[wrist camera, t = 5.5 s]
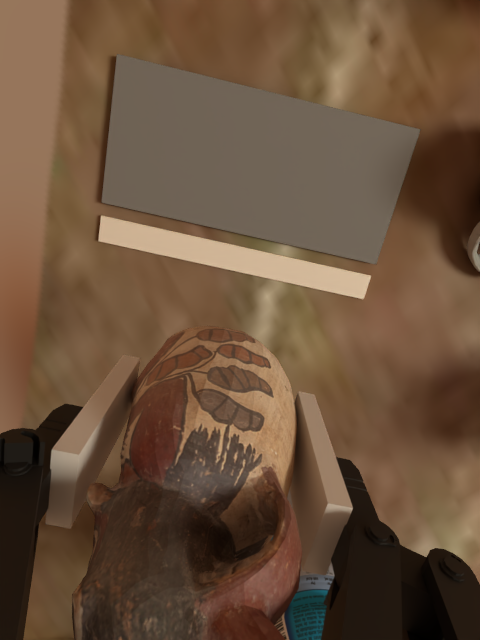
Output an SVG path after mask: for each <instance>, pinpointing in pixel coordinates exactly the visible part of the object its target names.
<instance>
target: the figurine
mask: <svg viewBox="0 0 480 640" xmlns="http://www.w3.org/2000/svg"><path fill="white" fill-rule="evenodd" d="M296 432H297V418H296V409H295V404H294V399H293V395H292V390H291V385H290V382H289V380H288V378H287V376H286V374H285V372H284V370H283V369H282V367H281V365H280V363H279V361H278V359H277V358H276V357H275V356H274V355H273V354H272V353H271V352H270V351H269V350H268V349H267V348H266V347H265V346H264V345H263V344H262V343H260V342H259V341H257V340H256V339H254V338H252V337H251V336H249V335H248V334H246V333H245V332H242V331H237V330H232V329H227V328H220V327H213V326H198V327H193V328H188V329H185V330H182V331H180V332H178V333H176V334H174V335H173V336H171V337H170V338H168V339H167V341H166V342H165V344H164V345H163V346H162V348H161V349H160V350H159V351H158V352H157V354H156V355H155V356H154V358H153V359H152V360H151V361H150V362H149V363H148V364H147V366H146V367H145V369H144V370H143V372H142V373H141V374H140V376H139V378H138V379H137V381H136V383H135V385H134V388H133V390H132V392H131V412H130V416H129V420H128V425H127V430H126V433H125V437H124V441H123V446H122V451H121V474H120V478H119V484H117V485H116V486H114V487H113V488H111V489H110V488H108V487H106V486H105V485H103V484H100V483H91V485H90V486H89V487H88V490H87V493H86V499H87V503H88V505H89V506H90V508H91V510H92V511H93V513H94V515H95V527H94V541H93V552H92V555H91V558H90V561H89V565H88V571H87V574H86V576H85V577H84V578H83V580H82V582H81V583H80V584H79V586H78V587H77V588H76V590H75V591H74V593H73V594H72V619H73V631H74V639H75V640H285V638H284V637H283V636H282V634H281V633H280V632H279V630H278V629H277V628H276V627H275V626H274V624H275V623H276V622H277V621H278V619H279V618H280V617H281V616H282V615H283V614H284V612H285V611H286V610H287V608H288V607H289V605H290V603H291V601H292V599H293V598H294V596H295V594H296V592H297V590H298V589H299V580H300V571H301V561H302V546H301V541H300V536H299V531H298V526H297V521H296V517H295V513H294V511H293V509H292V507H291V505H290V503H289V501H288V499H287V496H288V493H289V489H290V486H291V482H292V477H293V472H294V462H295V447H296ZM273 535H274V536H273ZM272 537H273V539H272ZM271 539H272V540H271Z"/></svg>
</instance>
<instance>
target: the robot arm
mask: <svg viewBox="0 0 480 640" xmlns="http://www.w3.org/2000/svg"><path fill="white" fill-rule="evenodd" d="M139 364H140V358H138V357H133V356H129V355H124V354H123V356H122V357H121V358H120V360H119V361H118V362H117V364H116V365H115V366H114V368H113V369H112V370H111V372H110V373H109V374H108V376H107V377H106V378H105V380H104V381H103V382H102V383H101V385H100V386H99V387H98V389H97V390H96V391H95V393H94V394H93V395H92V397H91V398H90V399H89V401H88V402H87V403H86V405H85V406H84V407H80V406H75V405H70V404H64V405H62V406H60V407H58V408H56V409H55V410H53V411H52V412H51V413H50V414H49V416H48V417H47V418H46V419H45V421H43V422H42V424H41V425H40V426H39V428H37V429H36V430H33V429H25V428H20V429H12V430H9V431H6V432H3V433H1V434H0V640H23V637H24V630H25V623H26V616H27V609H28V601H29V594H30V587H31V580H32V573H33V566H34V559H35V552H36V545H37V537H38V528H39V522H40V520H41V519H42V517H43V516H44V514H45V512H46V523H45V524H47V525H53V526H58V527H64V528H69V529H71V527H72V525H73V523H74V522H75V520H76V518H77V516H78V514H79V512H80V510H81V508H82V506H83V504H84V502H85V500H86V493H87V490H88V487H89V486H90V485H91V483H95V481H96V479H97V477H98V475H99V473H100V472H101V470H102V468H103V466H104V464H105V462H106V460H107V458H108V456H109V454H110V452H111V450H112V448H113V447H114V445H115V443H116V441H117V439H118V437H119V435H120V433H121V431H122V429H123V427H124V425H125V423H126V422H127V420H128V418H129V416H130V412H131V392H132V390H133V388H134V385H135V383H136V381H137V377H138V371H139ZM294 404H295V409H296V418H297V432H296V447H295V462H294V472H293V477H292V482H291V486H290V492H291V499H292V506H293V511H294V513H295V517H296V521H297V526H298V531H299V536H300V541H301V546H302V561H301V566H302V571H304V572H310V573H315V574H320V575H326V574H327V571H328V569H329V566H330V564H331V562H332V567H333V571H334V575H335V576H334V579H333V581H332V583H331V586H330V588H329V591H328V593H327V595H326V598H325V600H324V603H323V604H324V605H326V606H327V608H326V613H325V619H324V625H323V630H322V636H321V640H480V584H479V582H478V580H477V578H476V576H475V574H474V573H473V571H472V570H471V568H470V567H469V566H468V565H467V564H466V563H465V562H464V561H463V560H462V559H460V558H459V557H458V556H456V555H455V554H453V553H451V552H449V551H447V550H444V549H438V548H435V549H432V550H430V552H429V554H428V556H427V557H424V556H422V555H420V554H418V553H416V552H413V551H411V550H409V549H407V548H405V547H403V546H401V545H400V543H399V539H398V538H397V536H396V535H395V533H394V532H393V531H392V530H391V529H390V528H389V527H388V526H387V525H386V524H384V523H382V522H381V521H379V518H378V516H377V513H376V511H375V509H374V506H373V504H372V501H371V499H370V496H369V494H368V492H367V489H366V487H365V484H364V483H363V479H362V477H361V474H360V472H359V470H358V469H357V468H356V466H355V465H354V464H353V463H352V462H351V461H350V460H347V459H342V458H337V457H335V454H334V451H333V448H332V445H331V442H330V439H329V436H328V433H327V430H326V427H325V424H324V421H323V418H322V416H321V413H320V410H319V407H318V404H317V401H316V398H315V395H313V394H309V393H304V392H299V391H298V394H297V397H296V400H295V403H294Z"/></svg>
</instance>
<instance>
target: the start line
mask: <svg viewBox="0 0 480 640" xmlns="http://www.w3.org/2000/svg"><path fill="white" fill-rule="evenodd" d="M98 241H100V242H105V243H109V244H114V245H118V246H123V247H128V248H132V249H137V250H141V251H146V252H150V253H155V254H159V255H164V256H169V257H173V258H178V259H182V260H187V261H191V262H196V263H200V264H205V265H210V266H214V267H219V268H223V269H228V270H232V271H237V272H241V273H246V274H251V275H255V276H260V277H264V278H269V279H273V280H278V281H282V282H287V283H292V284H296V285H301V286H305V287H310V288H314V289H319V290H323V291H328V292H333V293H337V294H342V295H346V296H351V297H355V298H360V299H364V296H365V293H366V290H367V287H368V284H369V281H370V278H371V276H370V275H366V274H362V273H358V272H353V271H349V270H344V269H340V268H335V267H331V266H326V265H322V264H317V263H313V262H308V261H304V260H299V259H295V258H290V257H286V256H281V255H277V254H273V253H268V252H264V251H259V250H255V249H250V248H246V247H241V246H237V245H232V244H228V243H223V242H219V241H214V240H210V239H205V238H201V237H197V236H192V235H188V234H183V233H179V232H174V231H170V230H165V229H161V228H156V227H152V226H147V225H143V224H138V223H134V222H129V221H125V220H120V219H116V218H112V217H107V216H103V215H102V216H101V221H100V230H99V240H98Z"/></svg>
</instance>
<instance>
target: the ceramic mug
mask: <svg viewBox="0 0 480 640" xmlns="http://www.w3.org/2000/svg"><path fill="white" fill-rule="evenodd" d="M479 243H480V222H479V223H478V224H477V225H476V226H475V228H474V229H473V231H472V233H471V235H470V237H469V240H468V243H467V252H468V256H469V258H470V260H471V262H472V264H473V266H474V267H475V268H476V269H477V271H479V272H480V254H477V249H478V247H479Z"/></svg>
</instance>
